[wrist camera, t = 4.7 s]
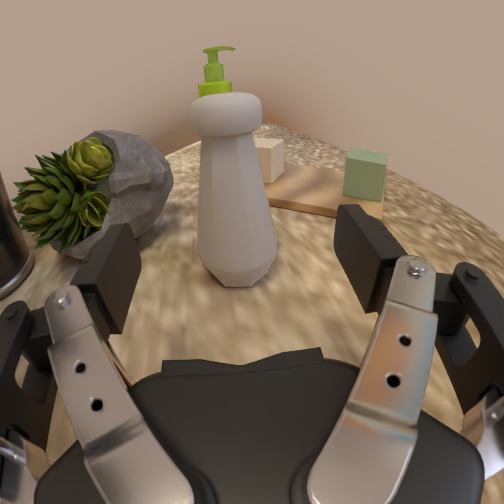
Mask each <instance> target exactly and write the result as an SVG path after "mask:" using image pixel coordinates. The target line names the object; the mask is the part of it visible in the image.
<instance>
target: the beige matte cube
mask: <svg viewBox="0 0 504 504" xmlns="http://www.w3.org/2000/svg"><path fill="white" fill-rule="evenodd" d="M254 142H255V147H256V151H257V155H258V160H259V164H260V169H261V173H262V178H263V182H264V183H270V184H272V183H273V182H274V181H275V180H276V179H277V178H278V177H279V176H280V175H281V174H282V173H284V140H280V139H266V138H254Z"/></svg>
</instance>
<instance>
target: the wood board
mask: <svg viewBox="0 0 504 504" xmlns="http://www.w3.org/2000/svg"><path fill="white" fill-rule="evenodd" d="M344 173H345V172H342V171H336V170H330V169H323V168H316V167H309V166H302V165H294V164H286V163H284V173H282V174H281V175H280V176H279V177H278V178H277V179H276V180H275V181H274V182H273V183H272V184H270V183H264V186H265V190H266V194H267V198H268V202H269V206H275V207H280V208H286V209H292V210H297V211H303V212H308V213H314V214H319V215H324V216H330V217H335V218H336V215H337V208H338V206H339V205H340V204H359V205H360V206H361V207H362V208H363V210H364V211H365V212H366V213H367V214H368V215H371V216H373V217H375V218H376V219H378V220H379V221H381V222H382V214H383V201H384V189H383V195H382V201H381V203H380V202H376V201H371V200H366V199H361V198H356V197H350V196H345V195H343V185H344ZM384 185H385V182H384Z"/></svg>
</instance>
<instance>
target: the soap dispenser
mask: <svg viewBox="0 0 504 504" xmlns="http://www.w3.org/2000/svg"><path fill="white" fill-rule="evenodd" d="M221 50H235V48H232V47H224V46H221V47H213V48H208V49H204V50H203V52H204V53H208V64H206V66H204V74H205V83H203V84H200V85H198V89H199V98H201V97H203V96H207V95H213V94H219V93H231V92H232V84H231V82H229V81H224V71H223V64H220V63H218V54H217V51H221Z"/></svg>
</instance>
